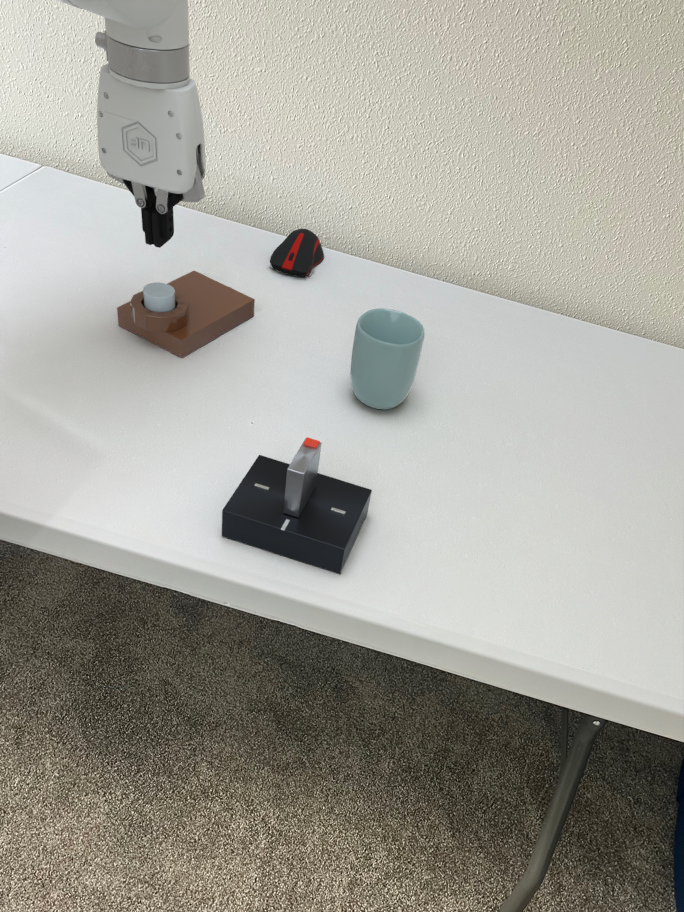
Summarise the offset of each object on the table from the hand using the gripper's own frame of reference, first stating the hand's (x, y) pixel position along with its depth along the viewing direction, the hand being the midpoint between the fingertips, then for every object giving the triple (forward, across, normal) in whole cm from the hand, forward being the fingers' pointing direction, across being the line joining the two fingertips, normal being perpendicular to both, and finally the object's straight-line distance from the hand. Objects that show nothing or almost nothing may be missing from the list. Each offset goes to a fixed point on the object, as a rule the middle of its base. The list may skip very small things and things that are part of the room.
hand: (158, 240), depth 88 cm
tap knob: (+8, +27, -25) cm, 37 cm away
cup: (+12, +28, 0) cm, 30 cm away
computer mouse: (+13, +7, +28) cm, 31 cm away
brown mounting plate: (+12, +1, +4) cm, 13 cm away
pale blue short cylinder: (+8, 0, 0) cm, 8 cm away
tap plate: (+12, +26, -25) cm, 38 cm away
